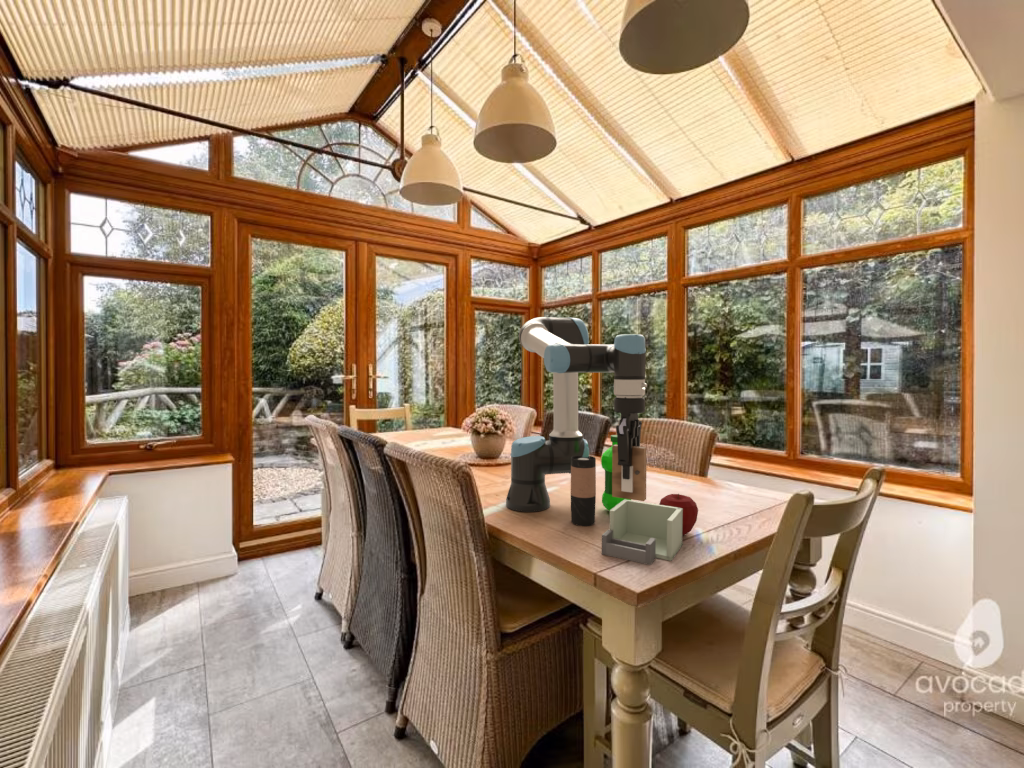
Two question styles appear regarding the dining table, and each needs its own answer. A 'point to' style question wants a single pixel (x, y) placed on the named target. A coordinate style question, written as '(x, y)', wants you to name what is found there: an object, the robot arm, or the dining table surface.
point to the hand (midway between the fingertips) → (629, 490)
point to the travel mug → (583, 490)
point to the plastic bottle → (609, 478)
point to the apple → (688, 509)
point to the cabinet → (643, 532)
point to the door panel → (638, 474)
